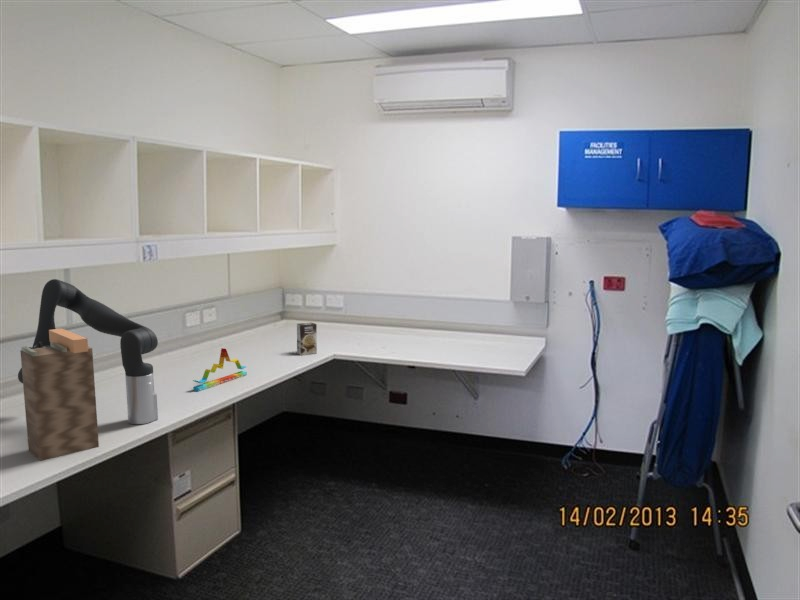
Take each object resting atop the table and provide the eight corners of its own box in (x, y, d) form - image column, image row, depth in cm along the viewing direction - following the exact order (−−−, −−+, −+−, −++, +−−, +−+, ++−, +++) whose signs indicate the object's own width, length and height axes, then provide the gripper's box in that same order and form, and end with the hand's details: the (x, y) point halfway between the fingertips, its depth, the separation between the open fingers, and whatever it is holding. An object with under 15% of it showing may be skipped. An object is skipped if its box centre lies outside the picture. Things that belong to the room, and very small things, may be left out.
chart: (199, 392, 268) (197, 357, 266) (193, 391, 269) (191, 356, 267) (247, 375, 295) (246, 343, 293) (241, 375, 296) (240, 343, 294)
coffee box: (301, 355, 335) (300, 325, 333) (296, 353, 340) (296, 323, 338) (317, 353, 339) (316, 323, 337) (313, 351, 345) (312, 321, 343)
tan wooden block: (62, 340, 213) (62, 328, 212) (88, 351, 196) (87, 338, 195) (49, 342, 210) (48, 329, 210) (74, 353, 193) (73, 340, 193)
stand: (85, 437, 213) (78, 339, 209) (98, 446, 205) (91, 344, 200) (28, 450, 202) (20, 346, 197) (40, 460, 193) (31, 352, 189)
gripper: (19, 353, 220) (29, 335, 208) (64, 346, 229) (75, 329, 218) (24, 373, 218) (34, 356, 207) (69, 366, 228) (81, 349, 216)
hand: (55, 342), depth 212 cm, fingers open, 8 cm apart
